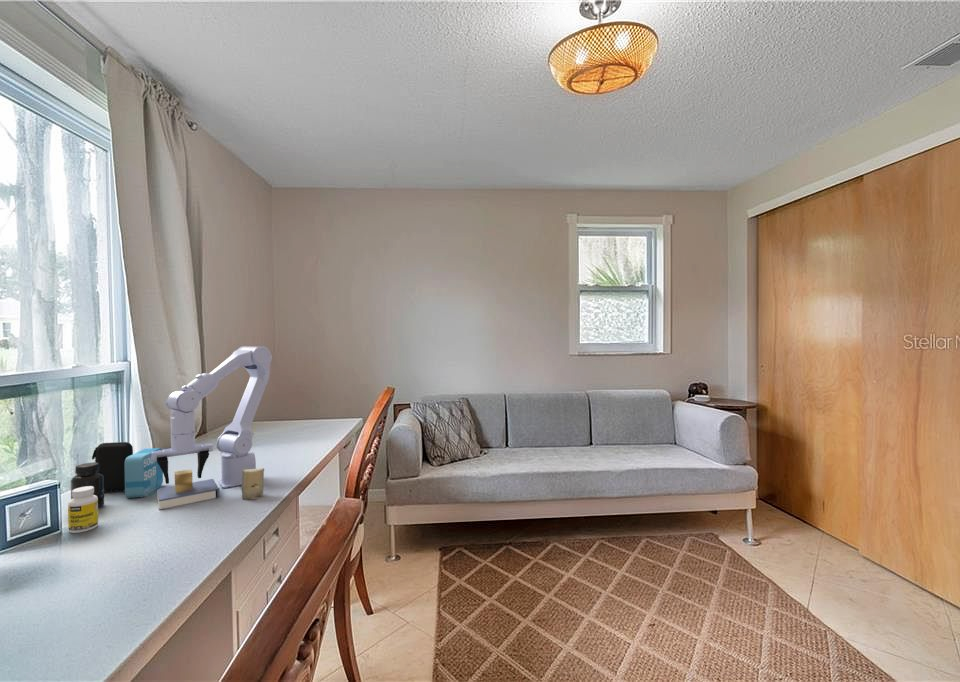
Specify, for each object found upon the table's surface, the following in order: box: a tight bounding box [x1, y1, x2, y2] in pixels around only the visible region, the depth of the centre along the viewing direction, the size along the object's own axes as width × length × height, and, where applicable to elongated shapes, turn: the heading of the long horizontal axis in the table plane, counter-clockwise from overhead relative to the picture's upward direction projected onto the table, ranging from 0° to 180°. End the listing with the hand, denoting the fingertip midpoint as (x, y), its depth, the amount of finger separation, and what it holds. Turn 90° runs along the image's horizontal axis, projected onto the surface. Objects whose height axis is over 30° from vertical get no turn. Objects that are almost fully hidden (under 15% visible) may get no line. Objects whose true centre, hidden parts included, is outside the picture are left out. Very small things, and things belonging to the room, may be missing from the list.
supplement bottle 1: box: [70, 461, 105, 510], centre depth 120 cm, size 7×7×12 cm
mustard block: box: [174, 469, 193, 493], centre depth 126 cm, size 4×4×5 cm
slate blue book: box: [156, 478, 220, 511], centre depth 127 cm, size 14×11×3 cm
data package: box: [124, 447, 164, 499], centre depth 132 cm, size 12×4×12 cm, turn 12°
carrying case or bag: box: [91, 441, 134, 493], centre depth 133 cm, size 11×3×15 cm, turn 100°
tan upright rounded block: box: [241, 467, 265, 500], centre depth 128 cm, size 6×5×8 cm
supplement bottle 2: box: [67, 486, 99, 534], centre depth 107 cm, size 5×5×10 cm
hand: (183, 480), depth 127 cm, fingers open, 7 cm apart
